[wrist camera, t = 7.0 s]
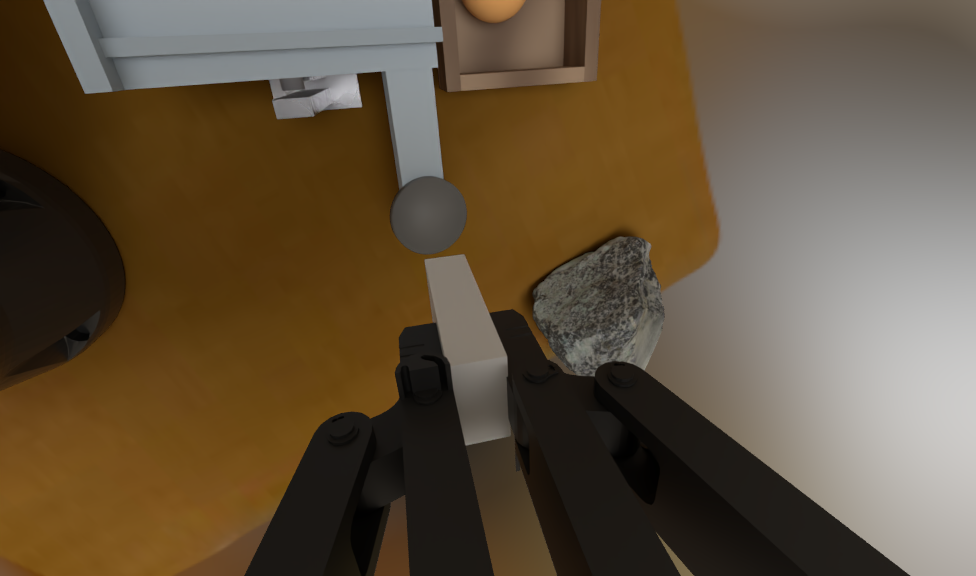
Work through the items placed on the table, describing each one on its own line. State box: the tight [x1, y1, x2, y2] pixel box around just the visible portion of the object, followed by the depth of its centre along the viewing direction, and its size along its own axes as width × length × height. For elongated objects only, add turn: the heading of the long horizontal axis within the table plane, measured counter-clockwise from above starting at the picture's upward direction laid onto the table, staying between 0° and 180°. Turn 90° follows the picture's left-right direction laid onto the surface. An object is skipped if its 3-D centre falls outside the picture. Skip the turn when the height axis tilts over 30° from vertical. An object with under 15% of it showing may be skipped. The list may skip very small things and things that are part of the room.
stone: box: [533, 237, 664, 376], centre depth 35 cm, size 10×10×10 cm
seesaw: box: [43, 0, 467, 254], centre depth 20 cm, size 15×18×3 cm
